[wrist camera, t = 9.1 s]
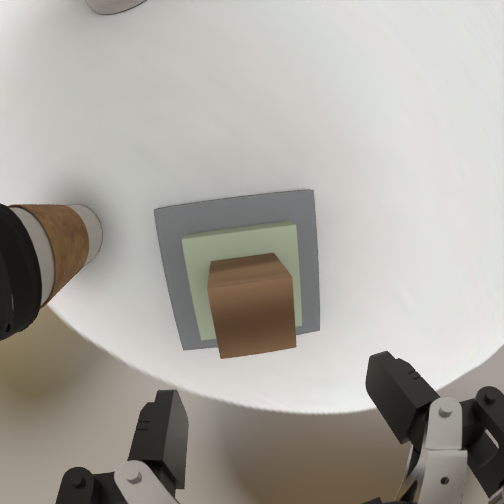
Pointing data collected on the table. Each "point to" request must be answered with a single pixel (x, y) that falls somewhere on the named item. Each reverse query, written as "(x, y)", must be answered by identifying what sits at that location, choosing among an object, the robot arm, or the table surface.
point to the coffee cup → (41, 257)
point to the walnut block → (251, 305)
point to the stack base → (232, 218)
